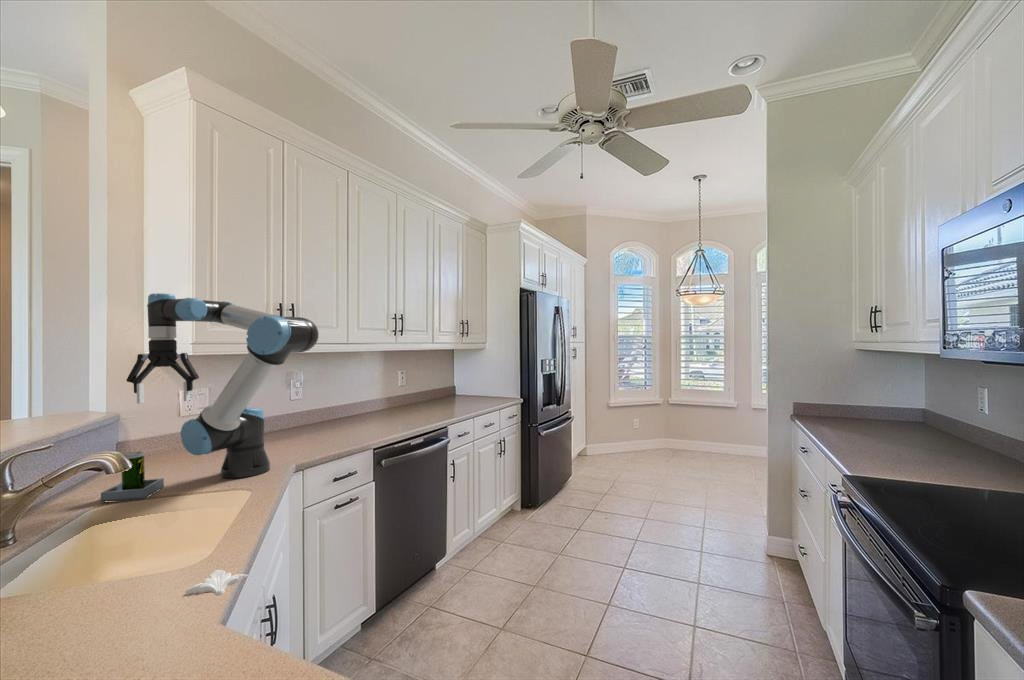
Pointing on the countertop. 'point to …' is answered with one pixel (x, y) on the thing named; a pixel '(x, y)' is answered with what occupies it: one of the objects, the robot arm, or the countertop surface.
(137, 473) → the beer can
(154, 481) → the tray
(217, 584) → the acanthus leaf ornament
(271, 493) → the countertop surface
